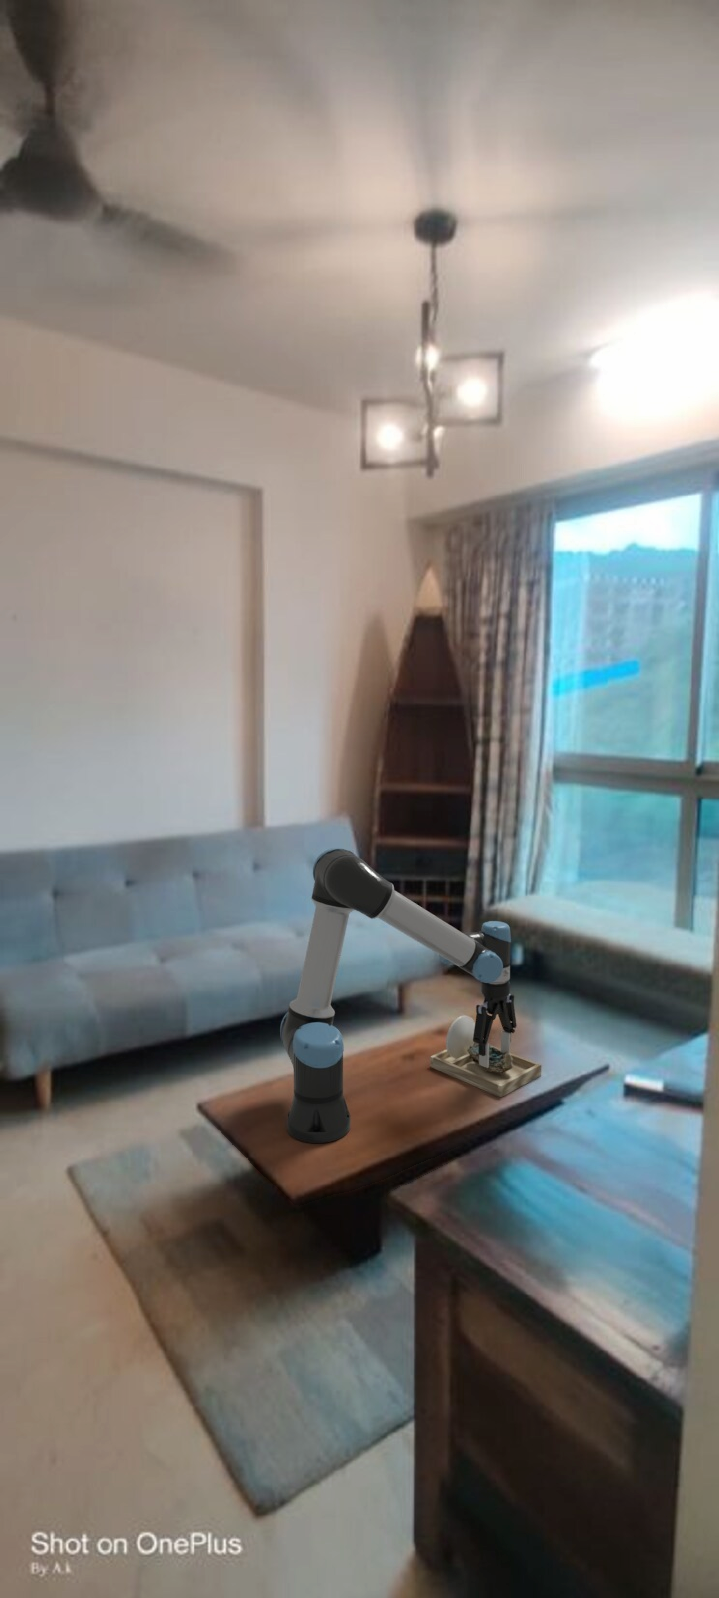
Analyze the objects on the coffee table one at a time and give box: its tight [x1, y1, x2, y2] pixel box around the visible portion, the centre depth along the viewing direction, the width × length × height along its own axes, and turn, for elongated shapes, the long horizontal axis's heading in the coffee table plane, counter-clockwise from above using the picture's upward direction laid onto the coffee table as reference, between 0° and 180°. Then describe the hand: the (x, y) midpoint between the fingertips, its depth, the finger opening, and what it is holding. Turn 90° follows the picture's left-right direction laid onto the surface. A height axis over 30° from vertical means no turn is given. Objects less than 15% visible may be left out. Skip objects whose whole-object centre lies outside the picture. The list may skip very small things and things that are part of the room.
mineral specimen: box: [467, 1043, 513, 1073], centre depth 215 cm, size 12×9×8 cm
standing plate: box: [445, 1014, 475, 1059], centre depth 222 cm, size 12×1×12 cm, turn 133°
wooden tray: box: [429, 1042, 542, 1098], centre depth 216 cm, size 18×24×3 cm
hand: (494, 1060), depth 214 cm, fingers closed on mineral specimen, 9 cm apart
